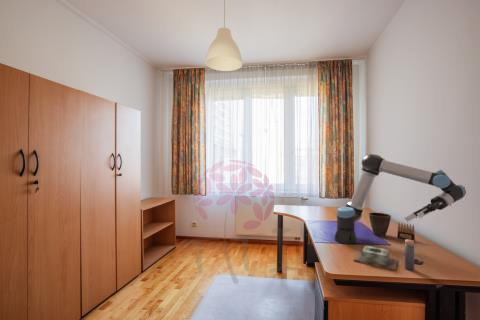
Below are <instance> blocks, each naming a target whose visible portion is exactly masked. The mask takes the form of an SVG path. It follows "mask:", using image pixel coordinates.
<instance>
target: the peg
mask: <svg viewBox="0 0 480 320" xmlns="http://www.w3.org/2000/svg"><path fill="white" fill-rule="evenodd" d="M404 250H405V251H404V269H405V270H408V271H412V272H413V271H415V264H414V260H415V241H413V240H409V239H406V240H405V239H404Z"/></svg>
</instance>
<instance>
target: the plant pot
mask: <svg viewBox="0 0 480 320" xmlns="http://www.w3.org/2000/svg"><path fill="white" fill-rule="evenodd" d="M368 216H369V221H370V226H371V229H372V232H373V234H374V235H375V236H377V237H385V236H386V235H387V233H388V230H389V227H390V223H391V218H392V215H391V214H388V213H384V212H383V213H382V212H369V213H368Z"/></svg>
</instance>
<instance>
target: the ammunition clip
mask: <svg viewBox="0 0 480 320" xmlns="http://www.w3.org/2000/svg"><path fill="white" fill-rule="evenodd" d="M403 223H404V224H403ZM415 231H416V230H415V226H414V224H411V223H410V224H409V222H406V223H405V222H400V221H399V222H398V224H397V239H400V240H404V241H405V240H406V239H409V240H413V241H414V242H416V235H415Z"/></svg>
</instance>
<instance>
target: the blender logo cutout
mask: <svg viewBox="0 0 480 320" xmlns="http://www.w3.org/2000/svg"><path fill="white" fill-rule="evenodd" d="M423 264H424V261H423V260H422V261H420V260H419V259H417V258H414V265H423Z"/></svg>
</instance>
